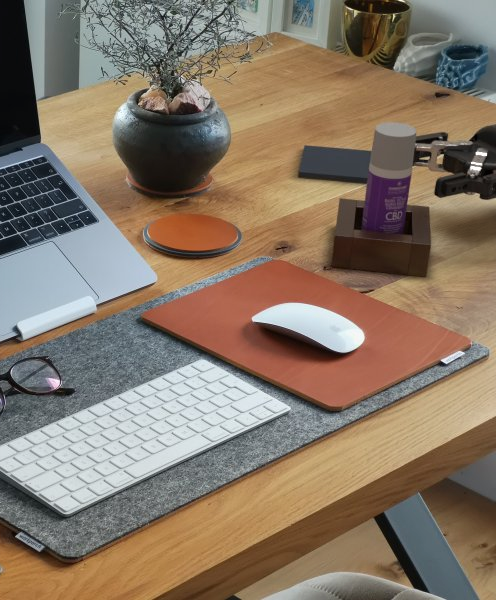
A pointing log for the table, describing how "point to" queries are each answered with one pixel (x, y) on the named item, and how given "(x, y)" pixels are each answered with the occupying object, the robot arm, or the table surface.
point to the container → (389, 178)
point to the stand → (382, 242)
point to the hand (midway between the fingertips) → (411, 175)
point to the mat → (335, 164)
